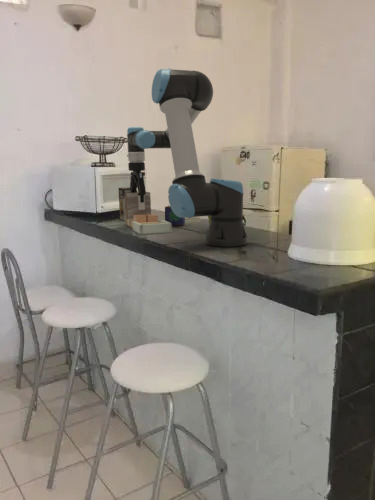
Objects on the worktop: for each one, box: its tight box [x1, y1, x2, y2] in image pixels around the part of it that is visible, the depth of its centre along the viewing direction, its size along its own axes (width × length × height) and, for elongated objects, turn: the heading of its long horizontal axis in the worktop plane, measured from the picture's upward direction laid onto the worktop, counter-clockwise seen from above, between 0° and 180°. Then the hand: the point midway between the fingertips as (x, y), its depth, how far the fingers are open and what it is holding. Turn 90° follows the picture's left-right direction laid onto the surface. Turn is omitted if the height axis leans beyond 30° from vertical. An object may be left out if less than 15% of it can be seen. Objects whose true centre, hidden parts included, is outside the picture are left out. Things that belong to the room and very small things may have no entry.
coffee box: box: [117, 187, 131, 222], centre depth 233 cm, size 9×6×16 cm
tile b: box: [133, 214, 146, 223], centre depth 204 cm, size 5×4×3 cm
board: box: [124, 218, 160, 229], centre depth 211 cm, size 20×11×3 cm, turn 21°
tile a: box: [145, 213, 159, 222], centre depth 206 cm, size 5×4×3 cm
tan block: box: [125, 191, 152, 220], centre depth 215 cm, size 4×11×12 cm, turn 111°
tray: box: [132, 219, 173, 236], centre depth 196 cm, size 12×14×4 cm
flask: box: [164, 204, 186, 227], centre depth 212 cm, size 9×3×11 cm, turn 87°
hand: (138, 208), depth 216 cm, fingers open, 13 cm apart
